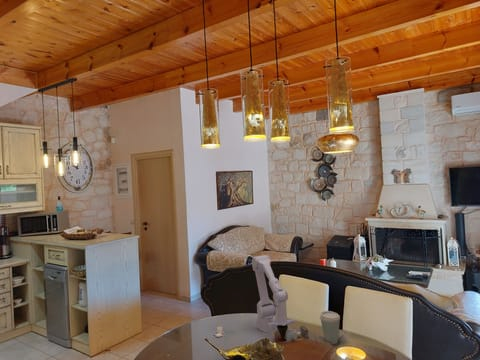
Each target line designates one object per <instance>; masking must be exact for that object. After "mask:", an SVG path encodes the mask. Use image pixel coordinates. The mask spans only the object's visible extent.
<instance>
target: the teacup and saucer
mask: <svg viewBox="0 0 480 360" xmlns="http://www.w3.org/2000/svg"><path fill="white" fill-rule="evenodd" d="M222 331H223V326H217V327H216V332H218V333H216V334H215V335H216V336H215V337H216V338H221V336H223V332H222Z"/></svg>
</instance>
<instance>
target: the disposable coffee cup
mask: <svg viewBox="0 0 480 360" xmlns="http://www.w3.org/2000/svg"><path fill="white" fill-rule="evenodd" d="M319 319H320V322H321V323H320V324H321V327H322V331H323V336H324V340H325V341H326V342H328V343H329V344H330V345H336V344H338V342H339V335H340V334H339V332H340V320H341V315H339V314H338V313H337V312H334V311H331V310H323V311H322V312H321V313H320V316H319Z"/></svg>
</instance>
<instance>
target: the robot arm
mask: <svg viewBox="0 0 480 360" xmlns="http://www.w3.org/2000/svg"><path fill="white" fill-rule="evenodd" d="M251 266H252V271H254V273H255V278H256V284H257V289H258V293H259V294H258V295H259V299H260V300H259V301H258V302H257V304H256V312H257V313H256V314H257V317H256V329H257V330H260V331H262V332H263V333H271V332H273V331H274V327H276V328H277V330H278V332H279V335H280V336H279V337H281V338H280V339H281V340H285V333H286V331H287V330H289V329H288V328H289V325H292V324H293V325H295V324H296V319H294V318H288V317H287V312H288V311H287V301H288V299H289V295H288V292H287V290H286V289H285V288H284V287H282V285H281V283H280V281H279V279H278V278H276V277H275V274H274V271H273V269H272V267H271V257H270V256H269V254H265V255H257V256H253V257H252V259H251ZM265 275H266V277H267V279H268V285H269V287H270V289H271V292H272V294H273V295H272V299H273V300H271V299H270V297H269V293H268V287H267V281H266V277H265ZM275 316H276V317H275ZM274 317H275V320H274Z"/></svg>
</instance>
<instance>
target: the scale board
mask: <svg viewBox="0 0 480 360" xmlns="http://www.w3.org/2000/svg"><path fill="white" fill-rule="evenodd" d="M299 330H300V331H299V332H301V335H300V336H301V337H302V338H297V339H296V340H295V341H296V342H297V341H301V340H307V339H309V329H308V328H307V327H306V326H304V325H300V326H299ZM274 339H275V340H277V339H281V336H279V337H275V338H274ZM295 341H293V340H290V341H279V342H278V344H285V343H289V342H295Z"/></svg>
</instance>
